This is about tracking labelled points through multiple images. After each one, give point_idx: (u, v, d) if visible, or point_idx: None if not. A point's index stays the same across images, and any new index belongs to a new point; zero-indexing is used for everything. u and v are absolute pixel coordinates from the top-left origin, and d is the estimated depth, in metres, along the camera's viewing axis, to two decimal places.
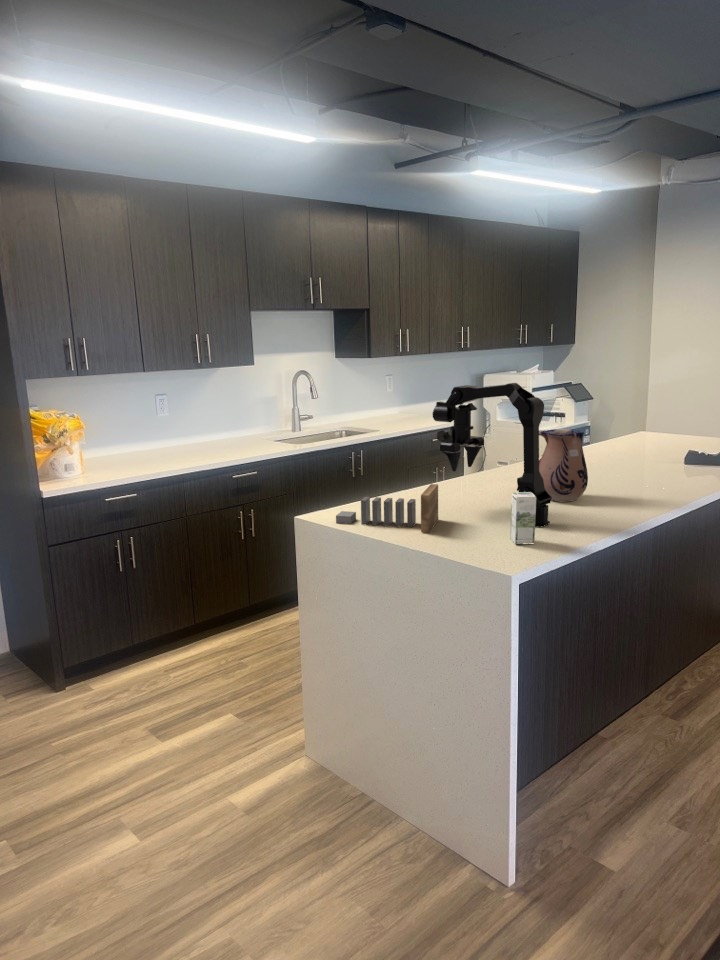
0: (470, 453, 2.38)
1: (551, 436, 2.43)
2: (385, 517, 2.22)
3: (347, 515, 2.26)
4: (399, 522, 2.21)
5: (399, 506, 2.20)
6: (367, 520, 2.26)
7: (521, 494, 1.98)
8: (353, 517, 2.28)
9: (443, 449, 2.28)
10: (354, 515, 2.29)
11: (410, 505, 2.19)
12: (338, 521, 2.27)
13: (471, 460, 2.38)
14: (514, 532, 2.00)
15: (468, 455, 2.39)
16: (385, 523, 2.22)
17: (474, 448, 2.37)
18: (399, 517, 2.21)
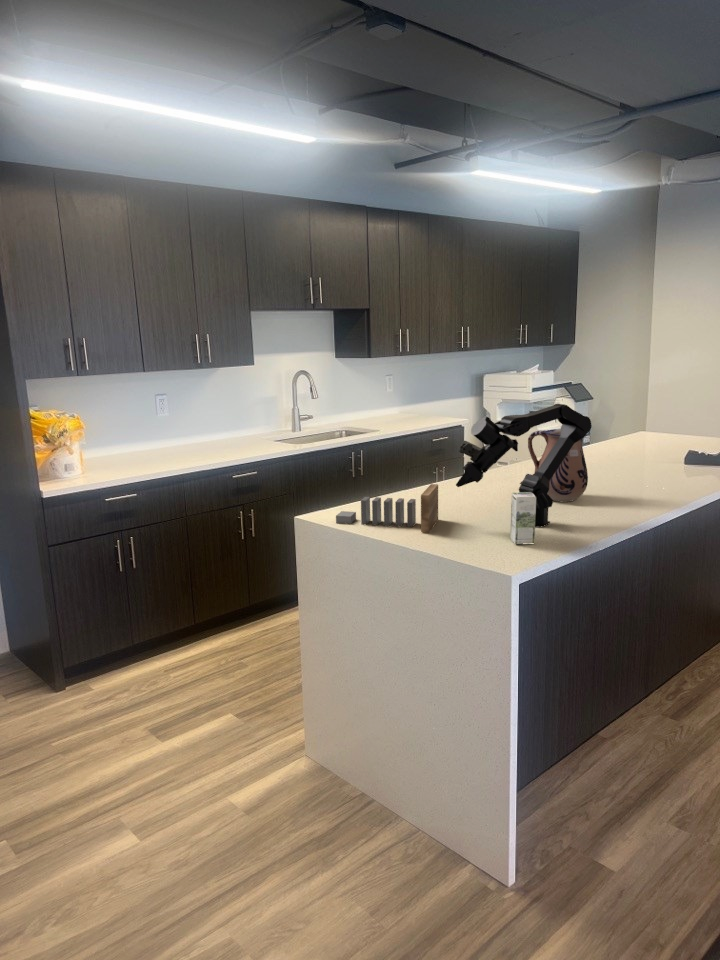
0: None
1: (551, 436, 2.43)
2: (385, 517, 2.22)
3: (347, 515, 2.26)
4: (399, 522, 2.21)
5: (399, 506, 2.20)
6: (367, 520, 2.26)
7: (521, 494, 1.98)
8: (353, 517, 2.28)
9: (468, 472, 2.04)
10: (354, 515, 2.29)
11: (410, 505, 2.19)
12: (338, 521, 2.27)
13: None
14: (514, 532, 2.00)
15: None
16: (385, 523, 2.22)
17: None
18: (399, 517, 2.21)
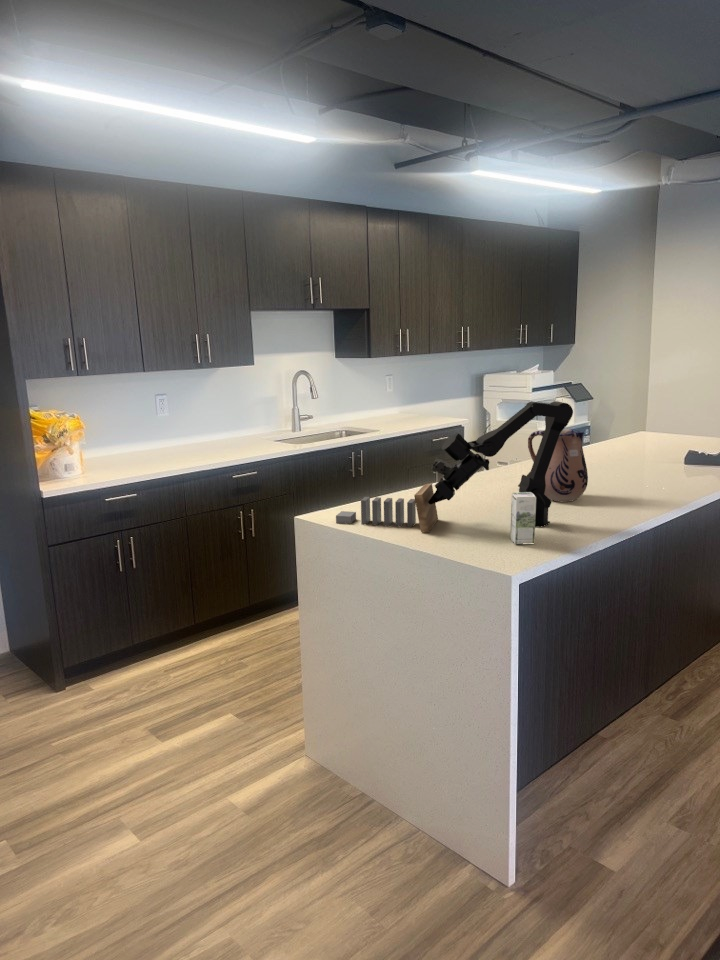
0: None
1: None
2: (385, 517, 2.22)
3: (347, 515, 2.26)
4: (399, 522, 2.21)
5: (399, 506, 2.20)
6: (367, 520, 2.26)
7: (521, 494, 1.98)
8: (353, 517, 2.28)
9: (440, 489, 2.08)
10: (354, 515, 2.29)
11: (410, 505, 2.19)
12: (338, 521, 2.27)
13: None
14: (514, 532, 2.00)
15: None
16: (385, 523, 2.22)
17: None
18: (399, 517, 2.21)
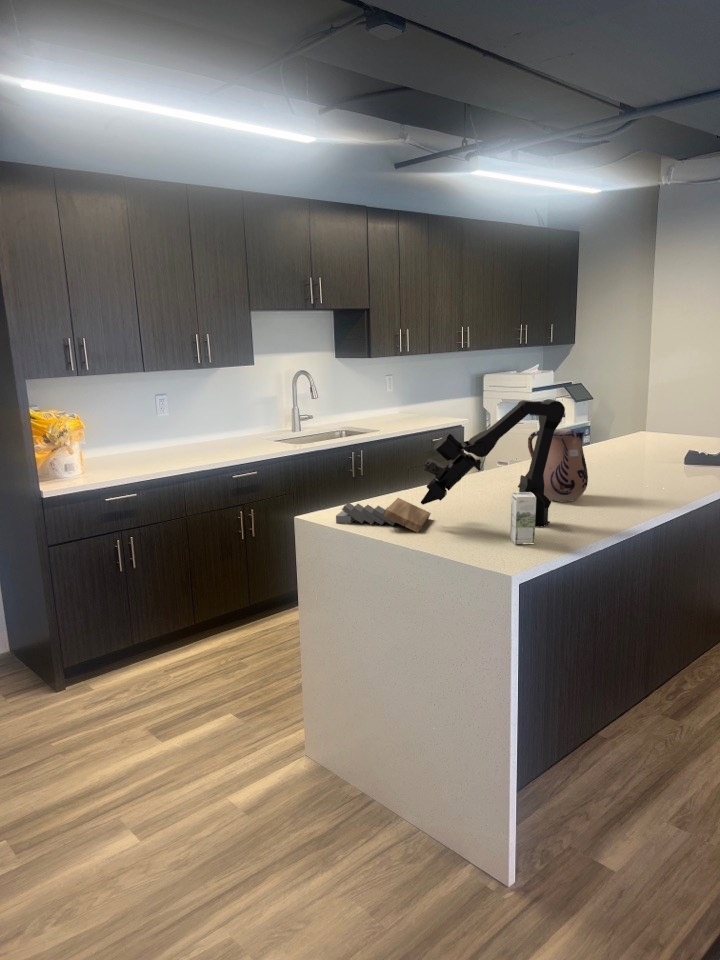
0: None
1: None
2: (375, 519, 2.23)
3: (347, 515, 2.26)
4: (391, 520, 2.22)
5: (377, 512, 2.23)
6: None
7: (521, 494, 1.98)
8: None
9: (432, 490, 2.09)
10: None
11: None
12: (338, 521, 2.27)
13: None
14: (514, 532, 2.00)
15: None
16: (380, 523, 2.23)
17: None
18: (387, 518, 2.22)
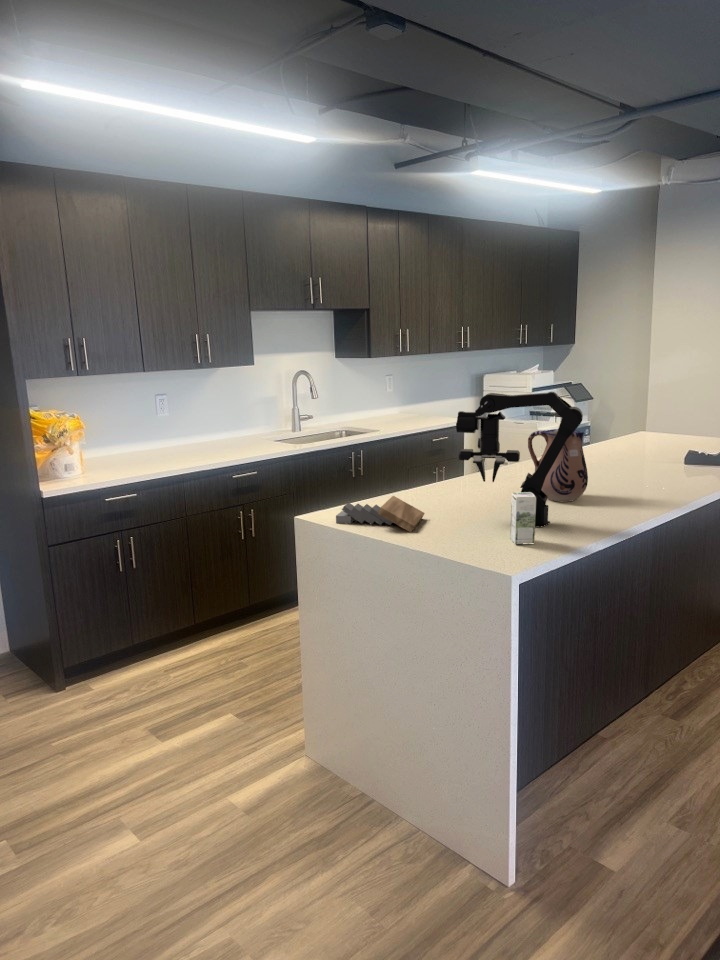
0: None
1: (551, 436, 2.43)
2: (374, 519, 2.23)
3: (347, 515, 2.26)
4: (388, 520, 2.22)
5: (375, 511, 2.23)
6: None
7: (521, 494, 1.98)
8: None
9: None
10: None
11: None
12: (338, 521, 2.27)
13: None
14: (514, 532, 2.00)
15: None
16: (379, 522, 2.23)
17: None
18: None
